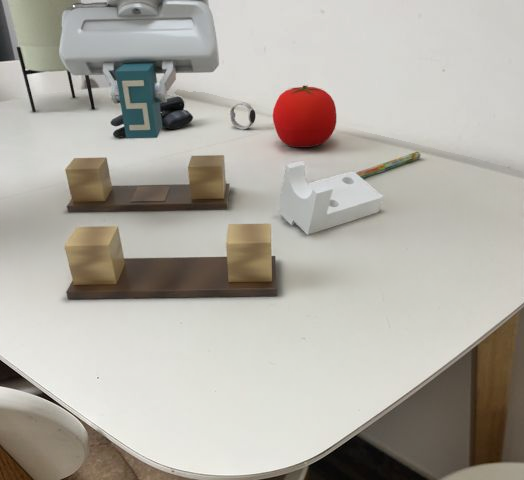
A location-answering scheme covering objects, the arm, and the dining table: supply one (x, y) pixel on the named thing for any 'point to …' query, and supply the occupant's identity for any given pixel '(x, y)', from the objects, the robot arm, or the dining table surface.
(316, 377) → the dining table surface
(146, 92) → the letter S tile
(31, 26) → the planter
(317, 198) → the bracket
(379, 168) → the pencil
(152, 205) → the board
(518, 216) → the dining table surface
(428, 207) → the dining table surface
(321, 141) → the tomato
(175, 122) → the can opener
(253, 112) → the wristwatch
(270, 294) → the board
